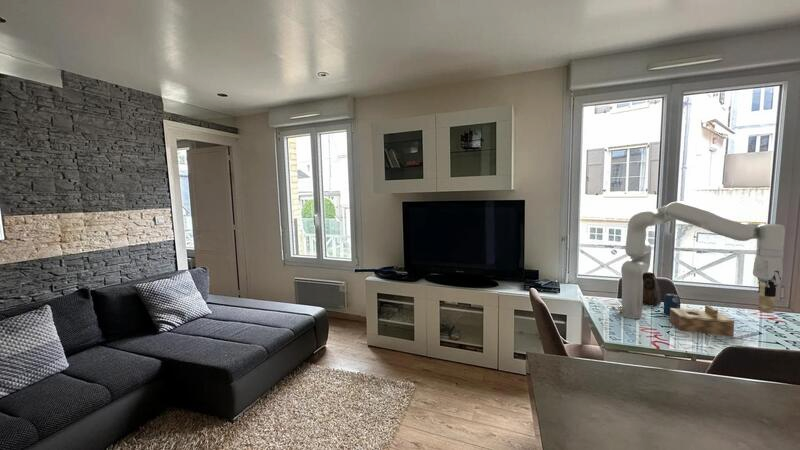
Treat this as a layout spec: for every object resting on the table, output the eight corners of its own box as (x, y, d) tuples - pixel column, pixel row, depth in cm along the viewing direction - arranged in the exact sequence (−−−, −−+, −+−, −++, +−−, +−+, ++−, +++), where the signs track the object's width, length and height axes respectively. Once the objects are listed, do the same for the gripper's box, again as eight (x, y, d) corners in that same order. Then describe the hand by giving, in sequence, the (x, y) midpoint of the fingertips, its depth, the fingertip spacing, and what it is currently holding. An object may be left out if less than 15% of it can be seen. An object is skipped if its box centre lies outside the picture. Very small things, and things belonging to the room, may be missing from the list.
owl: (656, 307, 191) (658, 274, 190) (631, 302, 201) (632, 271, 199) (662, 302, 199) (663, 271, 198) (637, 297, 209) (639, 267, 207)
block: (762, 312, 138) (764, 280, 137) (757, 310, 141) (759, 278, 140) (774, 313, 137) (776, 281, 135) (768, 310, 140) (770, 279, 139)
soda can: (681, 318, 173) (682, 297, 172) (665, 316, 176) (666, 295, 175) (677, 314, 179) (678, 293, 178) (661, 312, 182) (662, 292, 181)
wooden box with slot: (679, 332, 157) (680, 318, 156) (669, 323, 168) (670, 310, 167) (733, 338, 149) (734, 323, 149) (719, 328, 160) (720, 314, 160)
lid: (680, 317, 156) (680, 308, 156) (670, 309, 167) (670, 301, 167) (734, 323, 148) (734, 313, 148) (720, 314, 160) (720, 305, 159)
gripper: (745, 249, 146) (743, 289, 147) (770, 256, 131) (767, 299, 132) (768, 250, 143) (765, 290, 144) (796, 256, 128) (793, 301, 129)
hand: (766, 294), depth 138 cm, fingers closed on block, 3 cm apart
